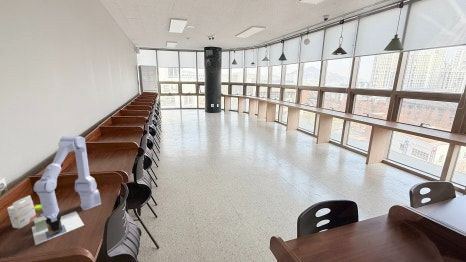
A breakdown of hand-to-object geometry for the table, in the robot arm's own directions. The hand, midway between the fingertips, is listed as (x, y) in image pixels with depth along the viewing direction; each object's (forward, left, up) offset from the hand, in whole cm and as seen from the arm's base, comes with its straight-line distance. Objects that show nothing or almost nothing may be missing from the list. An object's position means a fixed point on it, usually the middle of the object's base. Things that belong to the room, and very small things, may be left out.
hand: (55, 227), depth 108 cm
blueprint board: (-1, -4, -3) cm, 5 cm away
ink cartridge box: (+10, -21, -3) cm, 23 cm away
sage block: (+4, -9, -2) cm, 10 cm away
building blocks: (+2, -33, -3) cm, 33 cm away
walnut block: (0, 0, -1) cm, 1 cm away
